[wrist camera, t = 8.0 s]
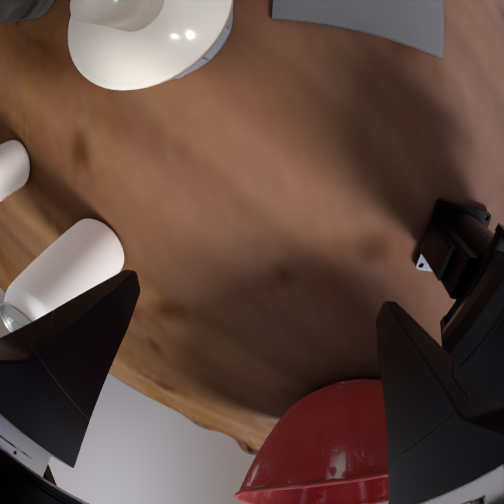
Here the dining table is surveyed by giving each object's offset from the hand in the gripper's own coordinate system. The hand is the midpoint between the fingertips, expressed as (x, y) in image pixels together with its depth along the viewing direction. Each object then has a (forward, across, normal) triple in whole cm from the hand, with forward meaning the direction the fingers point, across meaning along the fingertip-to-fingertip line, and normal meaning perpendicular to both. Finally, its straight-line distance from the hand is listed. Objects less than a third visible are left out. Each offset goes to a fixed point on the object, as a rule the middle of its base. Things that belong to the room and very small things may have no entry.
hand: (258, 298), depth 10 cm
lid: (+8, +8, -12) cm, 16 cm away
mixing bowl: (+12, -14, +29) cm, 35 cm away
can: (+12, +16, +7) cm, 21 cm away
